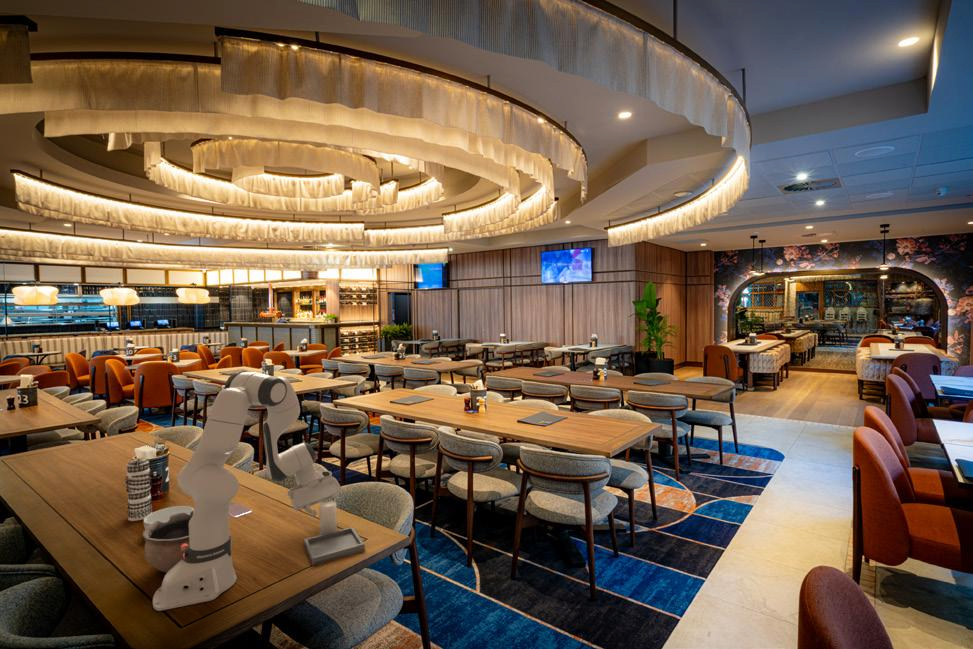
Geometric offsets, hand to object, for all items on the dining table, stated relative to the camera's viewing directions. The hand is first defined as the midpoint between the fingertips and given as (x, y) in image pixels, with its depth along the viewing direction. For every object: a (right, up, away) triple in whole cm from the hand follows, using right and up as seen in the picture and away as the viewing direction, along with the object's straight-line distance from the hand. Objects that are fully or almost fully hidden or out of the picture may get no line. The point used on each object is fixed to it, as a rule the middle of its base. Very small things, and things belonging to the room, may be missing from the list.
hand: (324, 511), depth 185 cm
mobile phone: (-47, -9, +21) cm, 52 cm away
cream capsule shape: (+2, -8, -1) cm, 8 cm away
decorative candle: (-86, -9, +17) cm, 88 cm away
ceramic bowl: (-41, -10, -23) cm, 48 cm away
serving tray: (+8, -8, -14) cm, 18 cm away
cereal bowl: (-64, -9, +3) cm, 64 cm away
